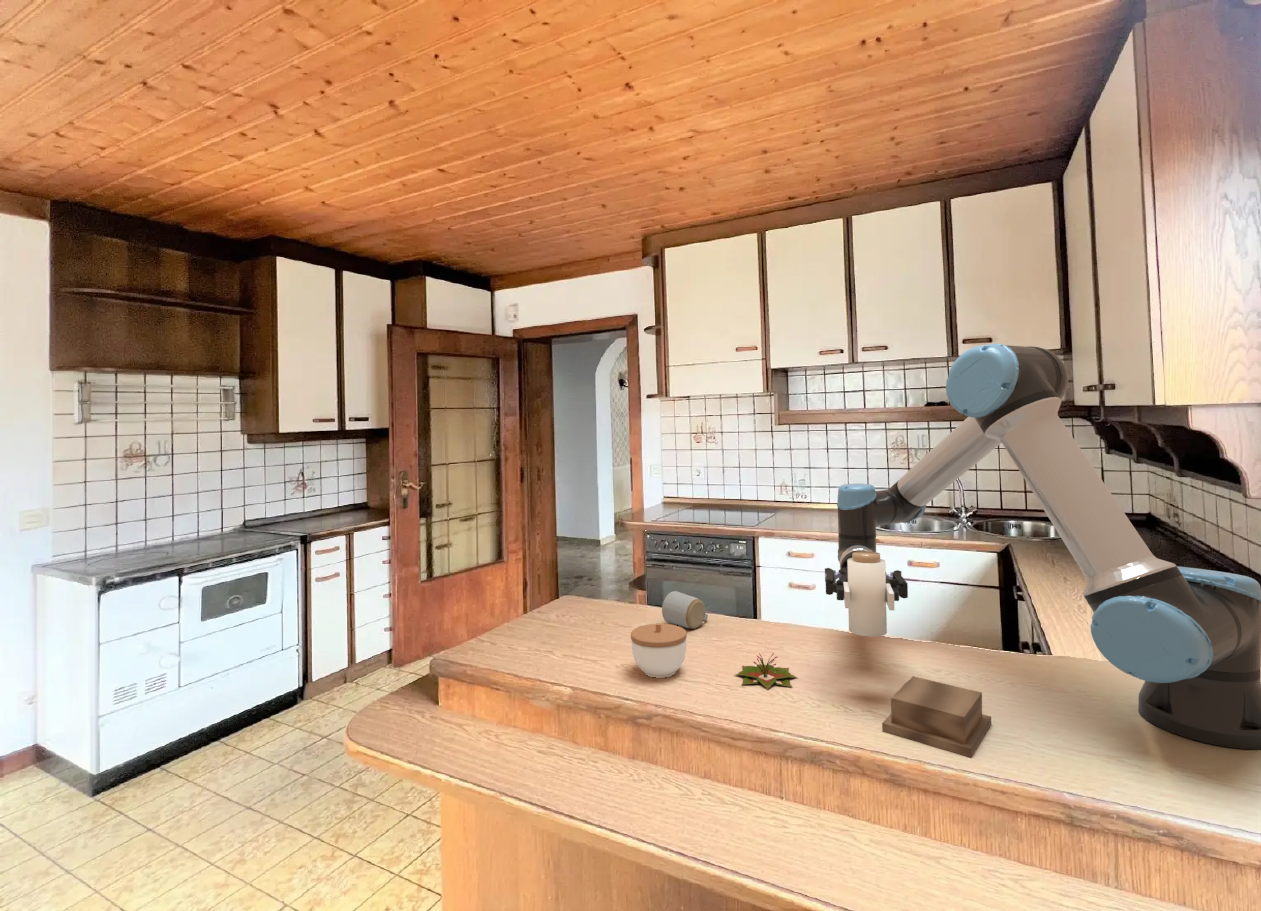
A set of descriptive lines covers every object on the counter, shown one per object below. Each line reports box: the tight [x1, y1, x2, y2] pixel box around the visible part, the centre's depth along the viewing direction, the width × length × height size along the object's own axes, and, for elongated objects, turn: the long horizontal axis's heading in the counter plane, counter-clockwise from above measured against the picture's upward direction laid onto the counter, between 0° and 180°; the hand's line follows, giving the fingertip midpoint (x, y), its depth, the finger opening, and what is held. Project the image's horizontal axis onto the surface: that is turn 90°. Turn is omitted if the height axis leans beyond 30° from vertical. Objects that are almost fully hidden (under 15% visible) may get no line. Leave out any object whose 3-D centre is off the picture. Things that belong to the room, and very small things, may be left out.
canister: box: [847, 551, 888, 638], centre depth 103 cm, size 6×6×13 cm
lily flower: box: [734, 652, 798, 690], centre depth 113 cm, size 12×12×5 cm
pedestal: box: [881, 676, 992, 758], centre depth 92 cm, size 12×12×5 cm
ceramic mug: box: [661, 590, 709, 630], centre depth 145 cm, size 11×8×8 cm
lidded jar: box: [630, 622, 688, 679], centre depth 117 cm, size 11×11×9 cm
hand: (869, 600), depth 98 cm, fingers closed on canister, 6 cm apart
